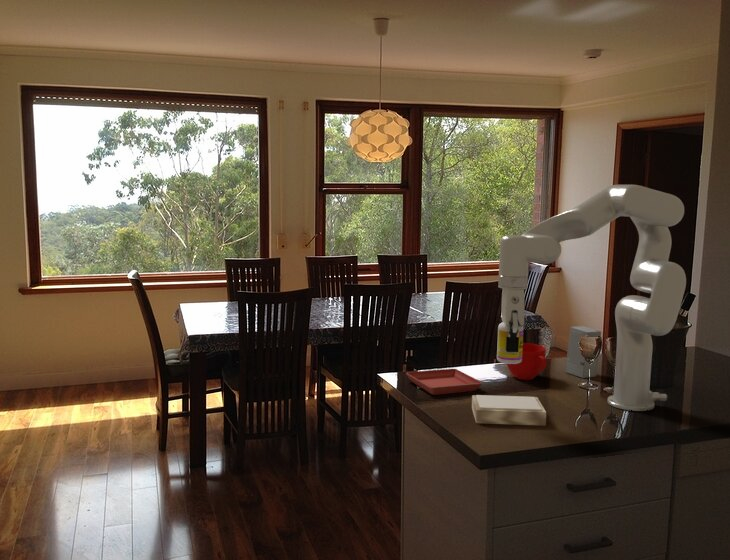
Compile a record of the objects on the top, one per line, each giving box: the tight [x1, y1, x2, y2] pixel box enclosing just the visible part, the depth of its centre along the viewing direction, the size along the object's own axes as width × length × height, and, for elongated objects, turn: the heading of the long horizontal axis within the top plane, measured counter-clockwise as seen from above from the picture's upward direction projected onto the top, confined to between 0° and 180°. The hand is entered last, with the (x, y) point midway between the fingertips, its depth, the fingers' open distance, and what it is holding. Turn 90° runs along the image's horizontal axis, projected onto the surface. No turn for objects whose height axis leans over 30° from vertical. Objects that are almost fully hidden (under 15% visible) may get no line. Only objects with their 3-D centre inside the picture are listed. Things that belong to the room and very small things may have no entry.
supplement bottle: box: [496, 315, 524, 365], centre depth 183 cm, size 7×7×13 cm
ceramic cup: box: [506, 342, 548, 381], centre depth 223 cm, size 13×17×10 cm
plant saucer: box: [405, 368, 483, 396], centre depth 213 cm, size 18×18×3 cm
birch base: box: [471, 394, 547, 426], centre depth 186 cm, size 18×13×4 cm
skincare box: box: [564, 325, 602, 379], centre depth 228 cm, size 8×7×16 cm
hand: (509, 347), depth 183 cm, fingers closed on supplement bottle, 6 cm apart
